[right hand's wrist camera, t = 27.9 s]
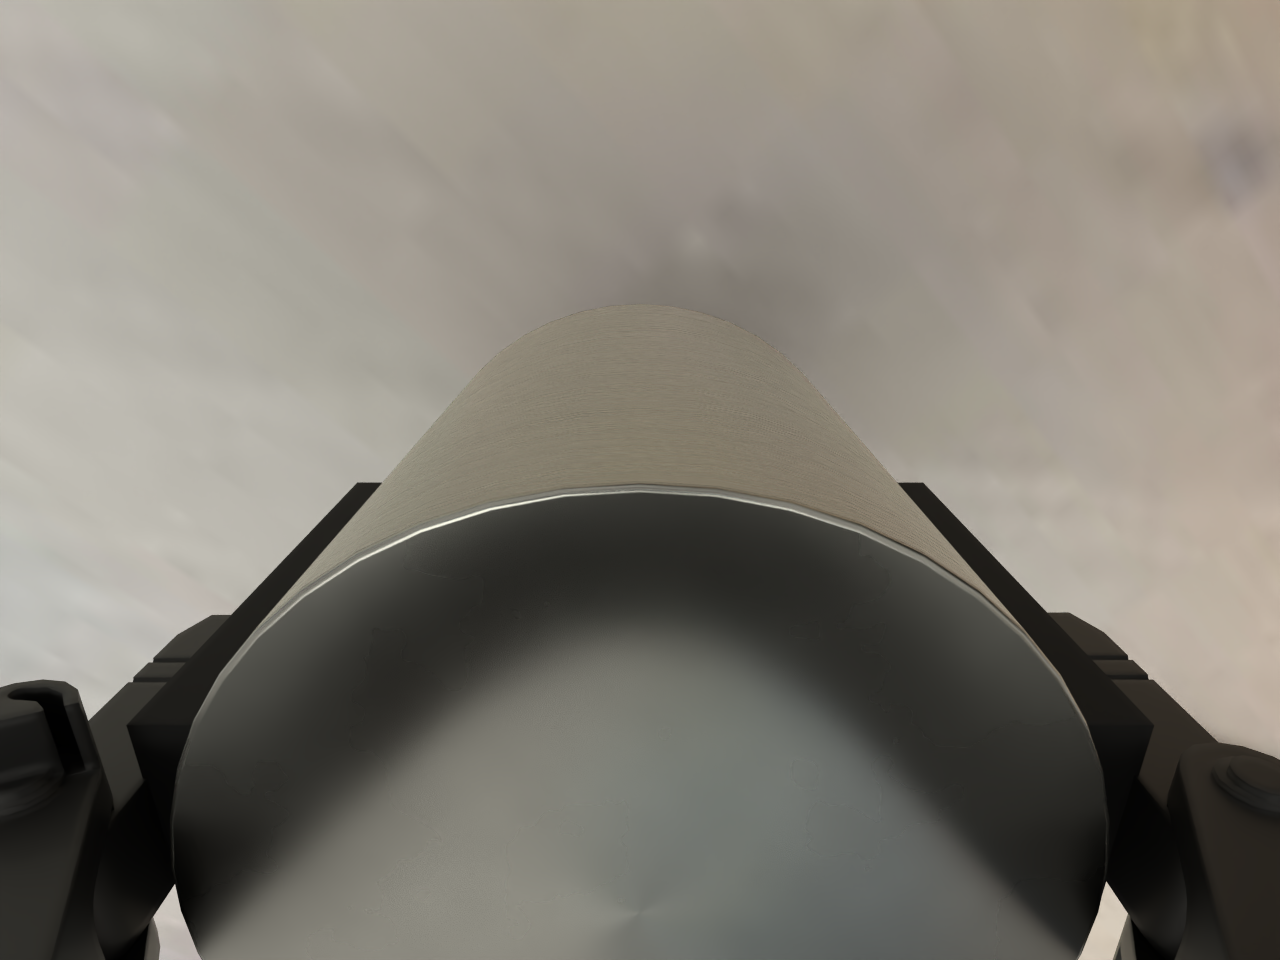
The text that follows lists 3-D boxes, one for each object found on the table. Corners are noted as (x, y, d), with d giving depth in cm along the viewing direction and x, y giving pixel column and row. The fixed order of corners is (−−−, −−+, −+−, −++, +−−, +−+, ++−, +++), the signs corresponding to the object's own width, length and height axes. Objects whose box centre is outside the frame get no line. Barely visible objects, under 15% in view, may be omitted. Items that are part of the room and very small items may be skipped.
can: (338, 480, 15) (-37, 848, 7) (685, 202, 13) (764, 232, 5) (605, 752, 18) (574, 1266, 9) (929, 552, 16) (1260, 973, 7)
